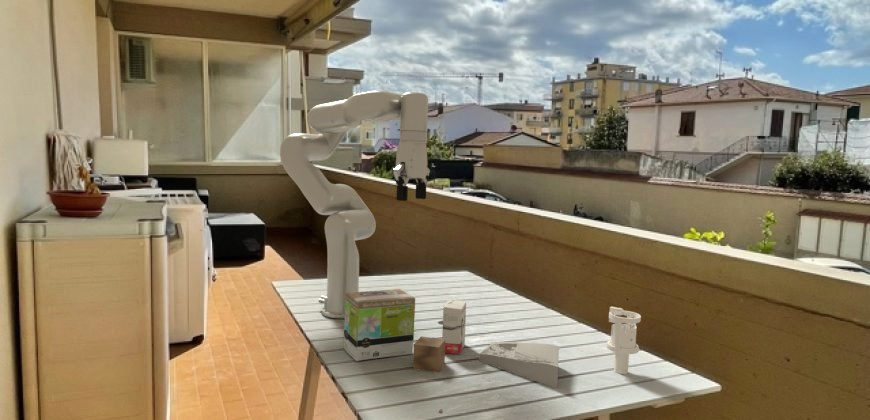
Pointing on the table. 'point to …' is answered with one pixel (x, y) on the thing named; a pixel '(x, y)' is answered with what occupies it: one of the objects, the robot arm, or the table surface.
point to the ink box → (454, 326)
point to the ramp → (525, 360)
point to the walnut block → (429, 354)
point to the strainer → (623, 337)
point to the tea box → (379, 324)
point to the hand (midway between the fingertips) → (411, 199)
